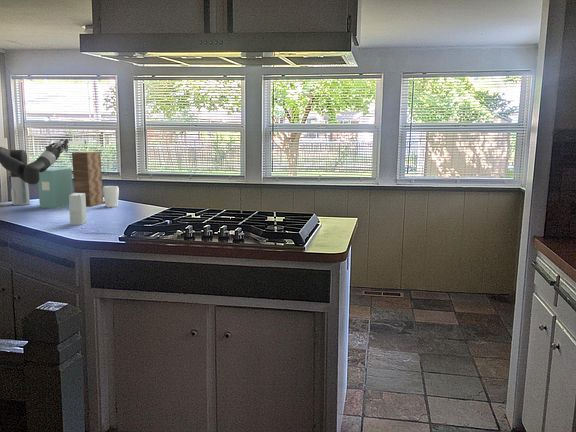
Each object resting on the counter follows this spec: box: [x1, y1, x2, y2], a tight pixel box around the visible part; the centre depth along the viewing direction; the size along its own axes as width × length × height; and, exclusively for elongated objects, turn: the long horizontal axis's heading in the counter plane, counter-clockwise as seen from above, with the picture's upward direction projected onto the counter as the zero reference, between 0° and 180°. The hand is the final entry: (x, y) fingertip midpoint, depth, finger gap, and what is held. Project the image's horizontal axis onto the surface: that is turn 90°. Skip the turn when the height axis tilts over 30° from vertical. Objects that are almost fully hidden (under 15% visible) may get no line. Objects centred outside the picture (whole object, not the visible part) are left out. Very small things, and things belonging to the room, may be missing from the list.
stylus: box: [56, 139, 87, 146], centre depth 302 cm, size 24×2×2 cm, turn 167°
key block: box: [37, 167, 74, 209], centre depth 314 cm, size 18×10×22 cm, turn 167°
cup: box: [102, 185, 120, 208], centre depth 314 cm, size 9×9×12 cm
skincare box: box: [68, 192, 87, 226], centre depth 257 cm, size 8×6×15 cm
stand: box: [71, 151, 106, 208], centre depth 319 cm, size 16×12×32 cm
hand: (65, 140), depth 296 cm, fingers closed on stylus, 2 cm apart
